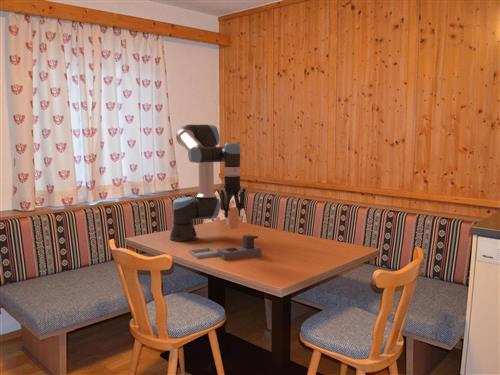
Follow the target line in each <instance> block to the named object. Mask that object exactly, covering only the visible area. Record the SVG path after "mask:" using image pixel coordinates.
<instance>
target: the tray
mask: <svg viewBox="0 0 500 375" xmlns="http://www.w3.org/2000/svg"><path fill="white" fill-rule="evenodd" d="M188 253H189V255H191V256H192V257H194V258H195V259H204V258H210V257H212V258H214V257H218V251H217V250H215V249H213V248H211V247H209V246H208V247H202V248H195V249H193V248H192V249H189V250H188Z"/></svg>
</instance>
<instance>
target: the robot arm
mask: <svg viewBox="0 0 500 375" xmlns="http://www.w3.org/2000/svg"><path fill="white" fill-rule="evenodd" d="M175 136H176V137H175V138H176V142H177V143H178V144H179V145H180V146H181V147H183V148H185V150H186V151H187V156H188V157H187V158H188V161H189V162H190V163H195V164H198V194H197V195H195V196H196V197H195V199H194V197H193V196H185V197H179V198H176V199H174V201H172V208H171V209H172V228H171V232H170V235H169V240H171V241H174V242H192V241H194V240H196V239H197V238H198V236H197V231H196V228H195V225H194V221H195V220H212V219H216V218H218V216H219V213H220V210H222V211H224V212H223V213H224V218H225V224H226V225H227V224H228V225H230V211H228V210H229V207H230V204H231V198H232V196H233V198H234V203H235V204H234V205H235V207H237V208H238V225H239V224H240V220H239V219H240V218H239V217H241V211H242V209H244V208H245V194H246V190H247V189H246V188H245V187H242V186H241V176H240V175H241V151H242V150H241V144H240V143H237V142H236V143H235V142H228V143H226V142H225V143H224V146H218V145H219V144H220V134H219V129H218V127H217V125H215V124H193V123H192V124H186V125H184V126H182V127H180V129H178V131H177V133H176V135H175ZM214 163H224V186H223V188H221V189H218V194H219V197H218V198H217V196H218V195H217V194H216V193H215V188H214V186H215V183H214V182H215V181H214V180H215V179H214V176H215V173H214V170H215V169H214ZM239 192H240V193H239ZM225 193H226V194H225ZM225 197H226V198H225Z"/></svg>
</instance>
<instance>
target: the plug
mask: <svg viewBox="0 0 500 375" xmlns="http://www.w3.org/2000/svg"><path fill="white" fill-rule="evenodd" d="M228 211H230V225H228V224H226V228H227V229H228V230H234V229H235V230H236V229H238V228H239V224H238V208H237V207H236V206H229V210H228Z"/></svg>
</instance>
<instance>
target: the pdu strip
mask: <svg viewBox="0 0 500 375" xmlns="http://www.w3.org/2000/svg"><path fill="white" fill-rule="evenodd" d="M255 239H259V236H258V235H252V234H243V236H242V245H241V246H240V245H239V246H231V247H224V248H223V247H222V248H217V252H218V256H217V257H218V258H220V259H221V260H223V261H228V260H237V259H243V258H244V259H245V258H251V257H253V258H257V257H262V248H261V247H260V246H257V245H255Z"/></svg>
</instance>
